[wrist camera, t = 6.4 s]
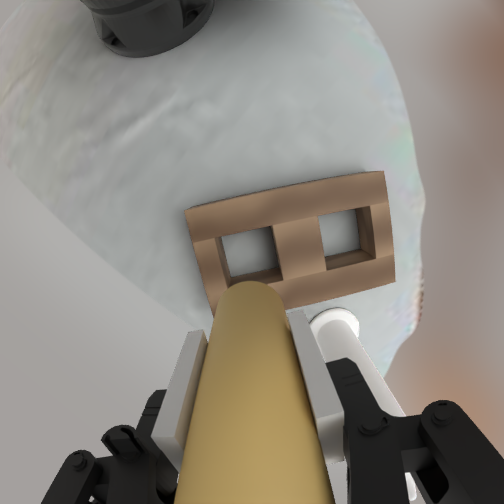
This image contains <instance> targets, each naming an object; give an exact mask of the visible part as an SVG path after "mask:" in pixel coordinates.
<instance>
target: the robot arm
mask: <svg viewBox="0 0 504 504" xmlns="http://www.w3.org/2000/svg"><path fill="white" fill-rule="evenodd" d="M80 1H81V2H83V3H84V4H85V5H86V6H87V7H88V8H89V9H90V10H91V11H92V15H93V19H94V22H95V26H96V29H97V33H98V35H99V37H100V39H101V40H102V42H103V43H104V44H105V45H107V46H108V47H109V48H110V49H111V50H112V51H114V52H115V53H117V54H120V55H123V56H127V57H145V56H151V55H155V54H159V53H162V52H165V51H168V50H170V49H172V48H174V47H176V46H178V45H180V44H182V43H183V42H185V41H186V40H188V39H189V38H191V37H192V36H193V35H195V34H196V33H197V32H198V31H199V30H200V29H201V28H202V27H203V26H204V24H205V23H206V22H207V20H208V19H209V17H210V15H211V13H212V10H213V6H214V0H80ZM287 316H288V321H289V327H290V332H291V335H292V339H293V343H294V346H295V350H296V354H297V358H298V361H299V365H300V369H301V372H302V376H303V380H304V384H305V388H306V391H307V395H308V399H309V403H310V407H311V411H312V414H313V418H314V422H315V426H316V430H317V434H318V438H319V440H320V443H321V447H322V451H323V455H324V459H325V463H326V465H330V464H333V463H337V462H341V461H344V456H345V459H346V462H347V492H348V493H347V495H348V496H347V499H348V500H347V502H348V504H410V503H409V496H408V489H407V483H406V477H405V473H409V472H410V474H411V476H412V478H413V480H414V482H415V483H416V485H417V487H418V489H419V491H420V493H421V495H422V497H423V498H424V500H425V502H426V504H504V459H503V458H502V456H501V455H500V454H499V453H498V451H497V450H496V449H495V448H494V446H493V445H492V444H491V443H490V442H489V440H488V439H487V438H486V437H485V435H484V434H483V433H482V432H481V431H480V430H479V429H478V427H477V426H476V425H475V424H474V422H473V421H472V420H471V419H470V418H469V417H468V415H467V414H466V413H465V412H464V411H463V410H462V409H461V408H460V406H458V405H457V404H456V403H454V402H452V401H448V400H438V401H436V402H433V403H431V404H429V405H428V406H427V407H425V409H424V411H423V412H422V414H420V415H414V416H406V417H397V416H392V415H390V414H388V413H387V412H385V411H383V410H382V409H381V408H380V406H379V405H378V403H377V401H376V399H375V397H374V395H373V393H372V392H371V390H370V388H369V386H368V384H367V382H366V381H365V379H364V377H363V375H362V374H361V371H360V370H359V368H358V366H357V364H356V363H355V362H353V361H352V360H350V359H349V358H347V357H345V358H342V359H338V360H334V361H331V362H327V363H325V362H324V359H323V357H322V354H321V352H320V349H319V347H318V345H317V342H316V340H315V337H314V335H313V332H312V330H311V327H310V325H309V323H308V320H307V318H306V315H305V313H304V311H303V310H300V311H296V312H292V313H287ZM207 347H208V342H207V339H206V336H205V333H204V330H198V331H193V332H188V334H187V337H186V340H185V343H184V345H183V348H182V350H181V353H180V356H179V359H178V362H177V364H176V367H175V369H174V372H173V375H172V378H171V380H170V383H169V386H168V389H166V390H156V391H155V392H154V393H153V394H152V395H151V396H150V397H149V399H148V401H147V403H146V406H145V409H144V411H143V413H142V416H141V418H140V420H139V423H138V425H137V428H136V430H135V429H134V428H133V427H131V426H129V425H119V426H115V427H113V428H111V429H109V430H108V431H107V432H106V433H105V434H104V435H103V437H102V439H101V441H102V442H103V443H104V445H105V446H106V447H107V448H108V450H109V451H110V452H111V453H112V454H113V456H108V457H102V458H95V457H94V456H93V455H92V454H91V452H89V451H86V450H78V451H75V452H73V453H72V454H70V455H69V456H68V457H67V458H66V460H65V462H64V463H63V465H62V467H61V468H60V470H59V472H58V474H57V475H56V477H55V479H54V481H53V482H52V484H51V486H50V488H49V490H48V491H47V493H46V495H45V497H44V499H43V501H42V502H41V504H174V500H175V495H176V490H177V485H178V483H177V478H178V473H179V475H180V470H181V465H182V460H183V455H184V450H185V446H186V441H187V436H188V431H189V427H190V422H191V417H192V413H193V408H194V404H195V399H196V395H197V390H198V386H199V381H200V377H201V373H202V368H203V364H204V359H205V355H206V351H207ZM91 496H93V497H94V500H93V501H92V502H89V499H90V497H91Z"/></svg>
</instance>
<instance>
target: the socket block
mask: <svg viewBox="0 0 504 504" xmlns="http://www.w3.org/2000/svg"><path fill="white" fill-rule="evenodd" d="M354 208H355V209H356V216H357V223H358V230H359V238H360V246H361V249H358V250H353V251H349V252H345V253H340V254H336V255H332V256H327V257H324V251H323V245H322V238H321V232H320V226H319V221H318V216H319V215H324V214H329V213H334V212H339V211H344V210H349V209H354ZM184 212H185V216H186V220H187V224H188V228H189V232H190V236H191V240H192V244H193V247H194V251H195V255H196V258H197V262H198V266H199V269H200V273H201V276H202V280H203V283H204V287H205V290H206V294H207V297H208V301H209V304H210V307H211V311H212V314H213V317H215V313H216V309H217V305H218V302H219V299H220V297H221V296H222V294H223V293H224V292H225V291H226V290H227V289H228V288H230V287H231V286H233V285H235V284H237V283H240V282H245V281H257V282H261V283H264V284H266V285H268V286H270V287H271V288H273V289H274V290H275V291H276V292H277V293H278V294H279V296H280V297H281V299H282V302H283V305H284V309H285V310H287V309H292V308H296V307H300V306H305V305H309V304H313V303H318V302H322V301H326V300H330V299H334V298H338V297H342V296H346V295H350V294H353V293H357V292H361V291H365V290H368V289H372V288H376V287H379V286H383V285H386V284H390V283H393V282H395V262H394V247H393V236H392V226H391V217H390V209H389V201H388V194H387V188H386V181H385V175H384V171H369V172H361V173H355V174H348V175H342V176H336V177H330V178H325V179H319V180H314V181H308V182H303V183H297V184H292V185H287V186H282V187H277V188H272V189H268V190H263V191H258V192H253V193H249V194H244V195H240V196H235V197H231V198H227V199H222V200H218V201H214V202H210V203H206V204H202V205H197V206H193V207H191V208H189V209H187V210H185V211H184ZM267 226H271V230H272V235H273V240H274V245H275V250H276V255H277V260H278V265H279V267H278V268H273V269H269V270H264V271H259V272H255V273H250V274H245V275H240V276H236V277H231V276H230V272H229V268H228V264H227V260H226V256H225V252H224V248H223V244H222V240H221V236H226V235H230V234H235V233H239V232H244V231H248V230H253V229H257V228H262V227H267Z"/></svg>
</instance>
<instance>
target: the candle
mask: <svg viewBox="0 0 504 504" xmlns="http://www.w3.org/2000/svg"><path fill="white" fill-rule="evenodd" d="M309 325H310V327H311V330H312V332H313V335H314V337H315V340H316V342H317V345H318V347H319V349H320V352H321V354H322V357H324V359H325V361H326V363H327V362H331V361H334V360H338V359H342V358H345V357H347V358H349V359H350V360H352V361H353V362H355V363H356V364H357V366H358V368H359V370H360V371H361V374H362V375H363V377H364V379H365V381H366V382H367V384H368V386H369V388H370V390H371V392H372V393H373V395H374V397H375V399H376V401H377V403H378V405H379V406H380V408H381V409H382V410H383V411H385V412H387V413H388V414H390V415H392V416H397V417H406V415H405V414H404V412H403V410H402V409H401V407H400V405H399V404H398V402H397V400H396V399H395V397H394V396H393V394H392V392H391V391H390V389H389V387H388V386H387V384H386V382H385V381H384V379H383V378H382V376H381V374H380V373H379V371H378V370H377V368H376V366H375V365H374V363H373V362H372V360H371V359H370V357H369V355H368V354H367V352H366V351H365V349H364V348H363V346H362V345H361V343H360V341H359V340H358V335H359V323H358V320H357V318H356V317H355V316H354V315H353V314H352V313H351V312H350V311H348V310H346V309H342V308H333V309H329V310H326V311H324V312H322V313H320V314H319V315H317V316H316V317H315V318H314V319H313V320H312V321H311V323H310V324H309ZM405 477H406V483H407V489H408V496H409V500H411V501H412V500H415V499H416V497H417V496H416V488H415V482H414V480H413V478H412V476H411V474H410V472H409V473H405Z"/></svg>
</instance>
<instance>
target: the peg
mask: <svg viewBox="0 0 504 504" xmlns="http://www.w3.org/2000/svg"><path fill="white" fill-rule="evenodd" d="M174 504H336V503H335V499H334V495H333V491H332V487H331V483H330V479H329V475H328V471H327V467H326V463H325V459H324V455H323V451H322V447H321V443H320V440H319V438H318V434H317V430H316V426H315V422H314V418H313V414H312V411H311V407H310V403H309V399H308V395H307V391H306V388H305V384H304V380H303V376H302V372H301V369H300V365H299V361H298V358H297V354H296V350H295V346H294V343H293V339H292V335H291V332H290V327H289V323H288V319H287V316H286V312H285V309H284V305H283V302H282V299H281V297H280V296H279V294H278V293H277V292H276V291H275V290H274V289H273V288H271V287H270V286H268V285H266V284H264V283H261V282H257V281H245V282H240V283H237V284H235V285H233V286H231V287H230V288H228V289H227V290H226V291H225V292H224V293H223V294H222V296H221V297H220V299H219V302H218V305H217V309H216V313H215V317H214V321H213V325H212V330H211V334H210V338H209V342H208V347H207V351H206V355H205V359H204V364H203V368H202V373H201V377H200V381H199V386H198V390H197V395H196V399H195V404H194V408H193V413H192V417H191V422H190V427H189V431H188V436H187V441H186V446H185V450H184V455H183V460H182V465H181V470H180V475H179V480H178V485H177V490H176V495H175V500H174Z"/></svg>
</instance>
